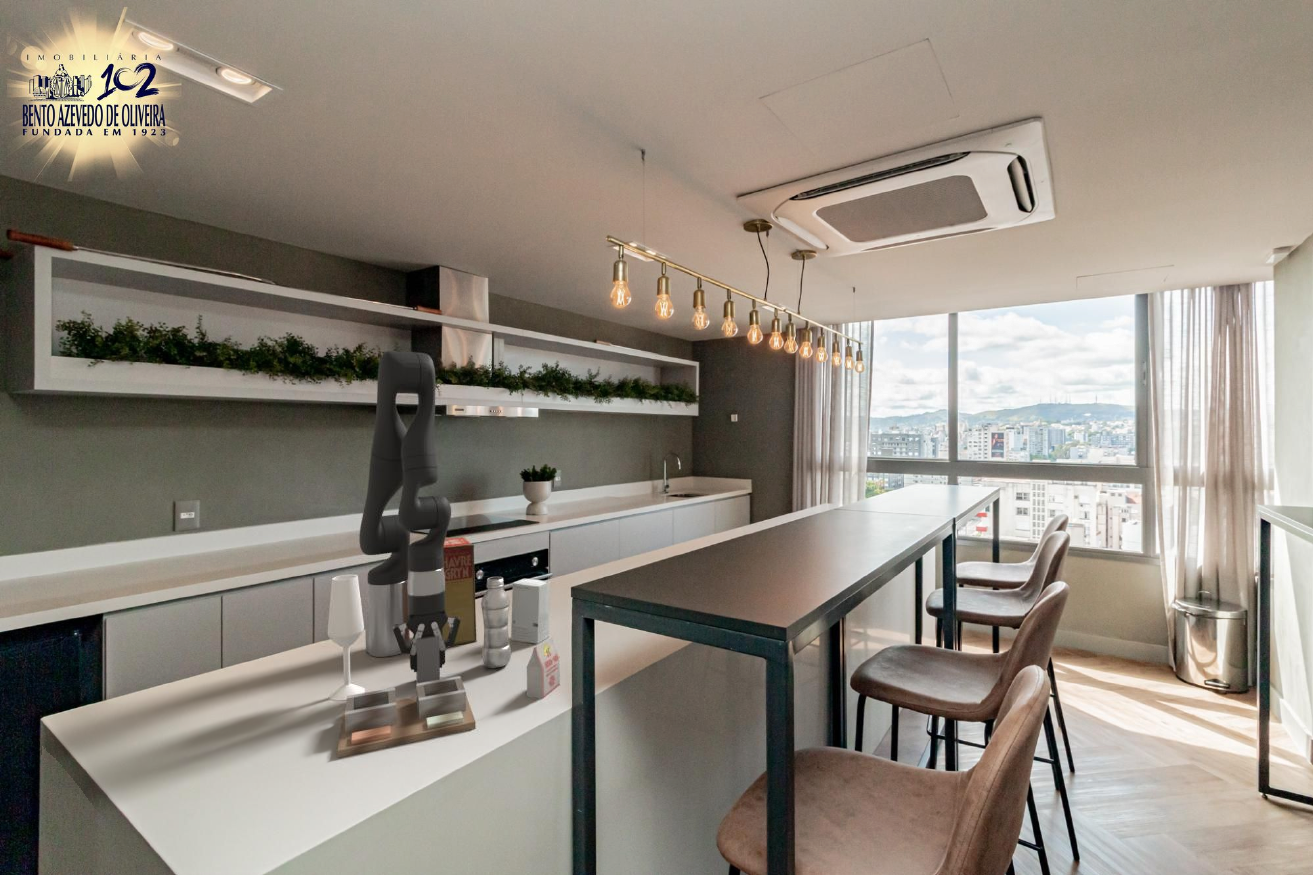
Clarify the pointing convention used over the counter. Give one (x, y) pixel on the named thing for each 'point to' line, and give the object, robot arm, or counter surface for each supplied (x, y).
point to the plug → (428, 659)
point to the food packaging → (460, 588)
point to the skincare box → (530, 611)
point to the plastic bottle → (495, 624)
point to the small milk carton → (543, 670)
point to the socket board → (404, 716)
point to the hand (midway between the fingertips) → (428, 668)
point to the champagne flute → (345, 626)
